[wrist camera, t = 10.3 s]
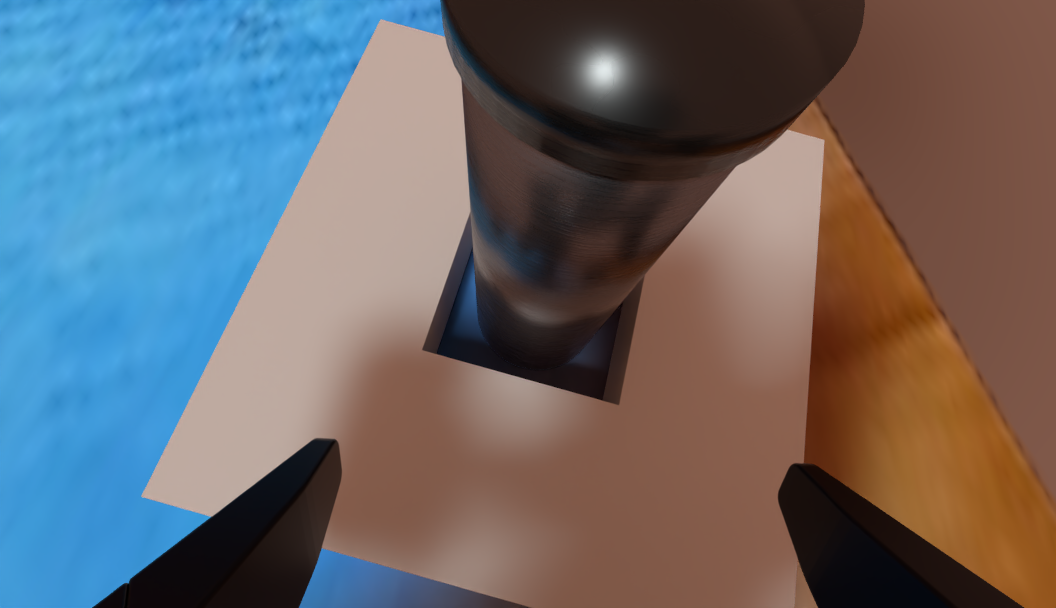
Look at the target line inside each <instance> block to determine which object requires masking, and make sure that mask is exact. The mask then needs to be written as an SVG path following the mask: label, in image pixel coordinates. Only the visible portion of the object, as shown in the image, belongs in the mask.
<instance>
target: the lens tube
mask: <svg viewBox="0 0 1056 608" xmlns="http://www.w3.org/2000/svg"><path fill="white" fill-rule="evenodd" d="M440 1H441V11H442V21H443V28H444V34H445V39H446V44H447V47H448V50H449V53H450V56H451V58H452V61H453V64H454V66H455V68H456V70H457V72H458V73H459V75H460V77H461V82H462V96H463V111H464V125H465V139H466V154H467V168H468V183H469V197H470V212H471V226H472V241H473V255H474V270H475V284H476V299H477V313H478V322H479V326H480V330H481V333H482V335H483V337H484V339H485V341H486V342H487V344H488V345H489V346H490V348H491V349H492V350H493V351H494V352H495V353H496V354H497V355H498V356H499V357H501V358H502V359H504V360H505V361H507V362H509V363H511V364H513V365H515V366H518V367H521V368H525V369H531V370H545V369H551V368H555V367H558V366H560V365H563V364H565V363H567V362H568V361H570V360H571V359H573V358H574V357H575V356H576V355H577V354H579V353H580V351H581V350H582V349H583V348H584V347H585V346H586V344H587V343H588V342H589V341H590V340H591V338H592V337H593V336H594V335H595V334H596V332H597V331H598V330H599V329H600V328H601V327H602V325H603V324H604V323H605V322H606V321H607V319H608V318H609V317H610V316H611V315H612V313H613V312H614V311H615V310H616V309H617V308H618V306H619V305H620V304H621V303H622V302H623V300H624V299H625V298H626V297H627V296H628V294H629V293H630V292H631V291H632V290H633V289H634V287H635V286H636V285H637V284H638V283H639V281H640V280H641V279H642V278H643V277H644V275H645V274H646V273H647V272H648V271H649V269H650V268H651V267H652V266H653V265H654V264H655V262H656V261H657V260H658V259H659V258H660V256H661V255H662V254H663V253H664V252H665V250H666V249H667V248H668V247H669V246H670V245H671V243H672V242H673V241H674V240H675V239H676V237H677V236H678V235H679V234H680V233H681V231H682V230H683V229H684V228H685V227H686V226H687V224H688V223H689V222H690V221H691V220H692V218H693V217H694V216H695V215H696V214H697V212H698V211H699V210H700V209H701V208H702V207H703V205H704V204H705V203H706V202H707V201H708V199H709V198H710V197H711V196H712V195H713V193H714V192H715V191H716V190H717V189H718V188H719V186H720V185H721V184H722V183H723V182H724V180H725V179H726V178H727V177H728V176H729V174H730V173H731V172H732V171H733V170H734V168H735V167H736V166H737V165H739V164H742V163H744V162H746V161H748V160H749V159H751V158H753V157H754V156H756V155H758V154H759V153H761V152H763V151H764V150H765V149H767V148H768V147H769V146H770V145H771V144H773V143H774V142H775V141H776V140H777V139H778V138H780V137H781V136H782V135H783V133H784V132H785V131H786V130H787V129H788V128H789V127H790V126H791V125H792V123H793V122H794V121H795V120H796V119H797V118H798V117H799V116H800V115H801V113H802V112H803V111H804V110H805V109H806V108H807V107H808V106H809V105H810V103H811V102H812V101H813V100H814V99H815V98H816V97H817V96H818V95H819V93H820V92H821V91H822V90H823V89H824V88H825V87H826V86H827V85H828V83H829V82H830V81H831V80H832V79H833V78H834V76H835V75H836V74H837V73H838V72H839V70H840V69H841V68H842V67H843V66H844V65H845V63H846V62H847V60H848V58H849V56H850V55H851V53H852V51H853V49H854V47H855V46H856V43H857V40H858V37H859V34H860V31H861V28H862V23H863V15H864V7H865V2H864V0H440Z"/></svg>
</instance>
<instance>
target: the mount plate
mask: <svg viewBox="0 0 1056 608" xmlns="http://www.w3.org/2000/svg"><path fill="white" fill-rule="evenodd" d="M823 153H824V140H822V139H819V138H815V137H811V136H808V135H804V134H800V133H797V132H793V131H789V130H786V131H785V132H784V133H783V135H782V136H781V137H780V138H778V139H777V140H776V141H775V142H774V143H773V144H771V145H770V146H769V147H768V148H767V149H765V150H764V151H763V152H761V153H759V154H758V155H756V156H754V157H753V158H751V159H749V160H748V161H746V162H744V163H742V164H739V165H737V166H736V167H735V168H734V170H733V171H732V172H731V173H730V174H729V176H728V177H727V178H726V179H725V180H724V182H723V183H722V184H721V185H720V186H719V188H718V189H717V190H716V191H715V192H714V193H713V195H712V196H711V197H710V198H709V199H708V201H707V202H706V203H705V204H704V205H703V207H702V208H701V209H700V210H699V211H698V212H697V214H696V215H695V216H694V217H693V218H692V220H691V221H690V222H689V223H688V224H687V226H686V227H685V228H684V229H683V230H682V231H681V233H680V234H679V235H678V236H677V237H676V239H675V240H674V241H673V242H672V243H671V245H670V246H669V247H668V248H667V249H666V250H665V252H664V253H663V254H662V255H661V256H660V258H659V259H658V260H657V261H656V262H655V264H654V265H653V266H652V267H651V268H650V269H649V271H648V272H647V273H646V274H645V275H644V277H643V278H642V279H641V280H640V281H639V283H638V284H637V285H636V286H635V287H634V289H633V290H632V291H631V292H630V293H629V294H628V296H627V297H626V298H625V299H624V300H623V305H622V309H621V314H620V319H619V324H618V329H617V333H616V338H615V343H614V348H613V352H612V357H611V362H610V367H609V372H608V376H607V381H606V386H605V391H604V395H603V400H599V399H595V398H591V397H588V396H584V395H581V394H577V393H573V392H570V391H566V390H563V389H559V388H556V387H552V386H548V385H545V384H541V383H538V382H534V381H530V380H527V379H523V378H520V377H516V376H513V375H509V374H505V373H502V372H498V371H495V370H491V369H487V368H484V367H480V366H477V365H473V364H470V363H466V362H462V361H459V360H455V359H452V358H448V357H444V356H441V355H437V354H436V353H437V350H438V347H439V345H440V342H441V339H442V336H443V333H444V330H445V327H446V324H447V321H448V318H449V315H450V312H451V309H452V306H453V303H454V300H455V297H456V294H457V291H458V288H459V285H460V282H461V279H462V276H463V274H464V271H465V268H466V265H467V262H468V259H469V256H470V253H471V250H472V247H473V241H472V226H471V212H470V197H469V183H468V168H467V154H466V139H465V125H464V111H463V96H462V82H461V77H460V75H459V73H458V72H457V70H456V68H455V66H454V64H453V61H452V58H451V56H450V53H449V50H448V47H447V44H446V39H445V37H443V36H440V35H436V34H432V33H429V32H425V31H421V30H418V29H414V28H410V27H407V26H403V25H399V24H396V23H392V22H388V21H385V20H380V22H379V24H378V26H377V28H376V30H375V32H374V34H373V36H372V38H371V40H370V42H369V44H368V46H367V48H366V50H365V52H364V54H363V56H362V58H361V60H360V62H359V64H358V66H357V68H356V70H355V72H354V74H353V76H352V78H351V80H350V82H349V84H348V86H347V88H346V90H345V92H344V94H343V96H342V98H341V100H340V102H339V104H338V106H337V107H336V109H335V111H334V113H333V115H332V117H331V119H330V121H329V123H328V125H327V127H326V129H325V131H324V133H323V135H322V137H321V139H320V141H319V143H318V145H317V147H316V149H315V151H314V153H313V155H312V157H311V159H310V161H309V163H308V165H307V167H306V169H305V171H304V173H303V175H302V177H301V179H300V181H299V183H298V185H297V187H296V189H295V191H294V193H293V195H292V197H291V199H290V201H289V203H288V205H287V207H286V209H285V211H284V213H283V215H282V217H281V219H280V221H279V223H278V225H277V227H276V229H275V231H274V233H273V235H272V237H271V239H270V241H269V243H268V245H267V247H266V249H265V251H264V253H263V255H262V257H261V259H260V261H259V263H258V265H257V267H256V269H255V271H254V273H253V275H252V277H251V279H250V281H249V283H248V285H247V287H246V289H245V291H244V293H243V295H242V297H241V299H240V301H239V303H238V305H237V307H236V309H235V311H234V313H233V315H232V317H231V319H230V321H229V323H228V325H227V327H226V329H225V331H224V333H223V335H222V337H221V339H220V341H219V343H218V345H217V347H216V349H215V351H214V353H213V355H212V357H211V359H210V361H209V363H208V365H207V367H206V369H205V371H204V373H203V375H202V377H201V379H200V380H199V382H198V384H197V386H196V388H195V390H194V392H193V394H192V396H191V398H190V400H189V402H188V404H187V406H186V408H185V410H184V412H183V414H182V416H181V418H180V420H179V422H178V424H177V426H176V428H175V430H174V432H173V434H172V436H171V438H170V440H169V442H168V444H167V446H166V448H165V450H164V452H163V454H162V456H161V458H160V460H159V462H158V464H157V466H156V468H155V470H154V472H153V474H152V476H151V478H150V480H149V482H148V484H147V486H146V488H145V490H144V492H143V494H142V496H141V497H144V498H148V499H151V500H155V501H158V502H162V503H165V504H169V505H172V506H176V507H179V508H183V509H186V510H190V511H193V512H197V513H200V514H204V515H207V516H211V517H212V516H213V515H215V514H216V513H217V512H218V511H220V510H221V509H222V508H224V507H225V506H226V505H228V504H229V503H230V502H232V501H233V500H234V499H235V498H237V497H238V496H239V495H241V494H242V493H243V492H245V491H246V490H247V489H249V488H250V487H251V486H252V485H254V484H255V483H256V482H258V481H259V480H260V479H262V478H263V477H264V476H266V475H267V474H268V473H269V472H271V471H272V470H273V469H275V468H276V467H277V466H279V465H280V464H281V463H283V462H284V461H285V460H286V459H288V458H289V457H290V456H292V455H293V454H294V453H296V452H297V451H298V450H300V449H301V448H302V447H303V446H305V445H306V444H307V443H309V442H310V441H311V440H313V439H315V438H332V439H336V440H337V441H338V443H339V448H340V457H341V465H342V478H341V483H340V487H339V490H338V493H337V497H336V500H335V504H334V507H333V510H332V514H331V517H330V521H329V524H328V528H327V531H326V534H325V538H324V541H323V545H322V548H323V549H327V550H330V551H334V552H337V553H341V554H344V555H348V556H351V557H355V558H359V559H362V560H366V561H369V562H373V563H376V564H380V565H383V566H387V567H390V568H394V569H397V570H401V571H404V572H408V573H411V574H415V575H418V576H422V577H425V578H429V579H432V580H436V581H439V582H443V583H446V584H450V585H453V586H457V587H460V588H464V589H468V590H471V591H475V592H478V593H482V594H485V595H489V596H492V597H496V598H499V599H503V600H506V601H510V602H513V603H517V604H520V605H524V606H527V607H531V608H794V606H795V590H796V575H797V559H798V558H797V555H796V552H795V549H794V546H793V543H792V540H791V538H790V535H789V532H788V529H787V526H786V523H785V521H784V518H783V515H782V512H781V509H780V506H779V503H778V491H779V488H780V486H781V484H782V482H783V479H784V477H785V475H786V473H787V471H788V468H789V467H790V466H791V465H792V464H793V463H804V450H805V434H806V419H807V403H808V387H809V372H810V356H811V340H812V325H813V309H814V294H815V278H816V262H817V247H818V231H819V216H820V200H821V184H822V169H823Z"/></svg>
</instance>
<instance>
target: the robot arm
mask: <svg viewBox="0 0 1056 608" xmlns="http://www.w3.org/2000/svg"><path fill="white" fill-rule="evenodd" d="M341 478H342V465H341V457H340V448H339V443H338V441H337V440H336V439H332V438H315V439H313V440H311V441H310V442H309V443H307V444H306V445H305V446H303V447H302V448H301V449H300V450H298V451H297V452H296V453H294V454H293V455H292V456H290V457H289V458H288V459H286V460H285V461H284V462H283V463H281V464H280V465H279V466H277V467H276V468H275V469H273V470H272V471H271V472H269V473H268V474H267V475H266V476H264V477H263V478H262V479H260V480H259V481H258V482H256V483H255V484H254V485H252V486H251V487H250V488H249V489H247V490H246V491H245V492H243V493H242V494H241V495H239V496H238V497H237V498H235V499H234V500H233V501H232V502H230V503H229V504H228V505H226V506H225V507H224V508H222V509H221V510H220V511H218V512H217V513H216V514H215V515H213V516H212V517H211V518H209V519H208V520H207V521H205V522H204V523H203V524H201V525H200V526H199V527H198V528H196V529H195V530H194V531H192V532H191V533H190V534H188V535H187V536H186V537H184V538H183V539H182V540H180V541H179V542H178V543H177V544H175V545H174V546H173V547H171V548H170V549H169V550H167V551H166V552H165V553H163V554H162V555H161V556H160V557H158V558H157V559H156V560H154V561H153V562H152V563H150V564H149V565H148V566H146V567H145V568H144V569H143V570H141V571H140V572H139V573H137V574H136V575H135V576H133V577H132V578H131V579H130V581H129V584H128V583H124V584H123V585H121V586H120V587H119V588H117V589H116V590H115V591H113V592H112V593H111V594H110V595H108V596H107V597H106V598H104V599H103V600H102V601H100V602H99V603H98V604H96V605H95V606H94V607H92V608H299V606H300V603H301V601H302V598H303V596H304V594H305V591H306V589H307V586H308V584H309V581H310V579H311V577H312V574H313V571H314V569H315V566H316V564H317V561H318V558H319V555H320V551H321V548H322V545H323V541H324V538H325V534H326V531H327V528H328V524H329V521H330V517H331V514H332V510H333V507H334V504H335V500H336V497H337V493H338V490H339V487H340V483H341ZM778 503H779V506H780V509H781V512H782V515H783V518H784V521H785V523H786V526H787V529H788V532H789V535H790V538H791V540H792V543H793V546H794V549H795V552H796V555H797V558H798V560H799V563H800V566H801V569H802V571H803V574H804V577H805V579H806V582H807V584H808V586H809V589H810V591H811V593H812V595H813V598H814V600H815V602H816V604H817V606H818V608H1024V607H1022V606H1021V605H1020V604H1018V603H1017V602H1015V601H1014V600H1012V599H1011V598H1009V597H1008V596H1006V595H1005V594H1003V593H1002V592H1001V591H999V590H998V589H996V588H995V587H993V586H992V585H990V584H989V583H987V582H986V581H984V580H983V579H982V578H980V577H979V576H977V575H976V574H974V573H973V572H971V571H970V570H968V569H967V568H965V567H964V566H963V565H961V564H960V563H958V562H957V561H955V560H954V559H952V558H951V557H949V556H948V555H946V554H945V553H944V552H942V551H941V550H939V549H938V548H936V547H935V546H933V545H932V544H930V543H929V542H927V541H926V540H925V539H923V538H922V537H920V536H919V535H917V534H916V533H914V532H913V531H911V530H910V529H908V528H907V527H905V526H904V525H903V524H901V523H900V522H898V521H897V520H895V519H894V518H892V517H891V516H889V515H888V514H886V513H885V512H884V511H882V510H881V509H879V508H878V507H876V506H875V505H873V504H872V503H870V502H869V501H867V500H866V499H865V498H863V497H862V496H860V495H859V494H857V493H856V492H854V491H853V490H851V489H850V488H848V487H847V486H846V485H844V484H843V483H841V482H840V481H838V480H837V479H835V478H834V477H832V476H831V475H829V474H828V473H827V472H825V471H824V470H822V469H821V468H819V467H818V466H816V465H814V464H807V463H793V464H792V465H791V466H790V467H789V468H788V471H787V473H786V475H785V477H784V479H783V482H782V484H781V486H780V488H779V491H778Z"/></svg>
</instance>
